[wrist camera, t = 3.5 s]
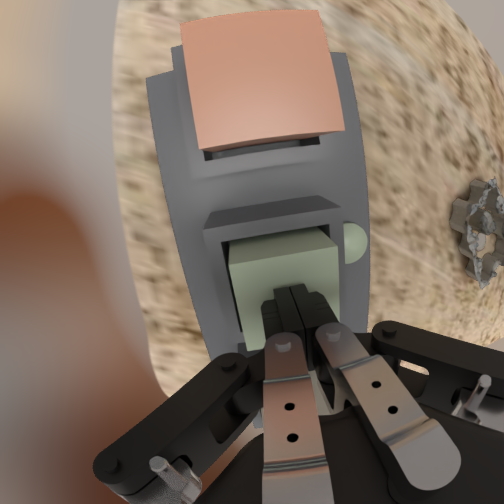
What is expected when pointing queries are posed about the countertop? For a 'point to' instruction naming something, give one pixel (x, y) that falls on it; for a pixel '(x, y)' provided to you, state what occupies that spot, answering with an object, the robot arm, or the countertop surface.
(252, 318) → the sage key
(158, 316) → the countertop surface
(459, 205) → the grey ruined fortress
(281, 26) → the terracotta key
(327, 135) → the key panel
